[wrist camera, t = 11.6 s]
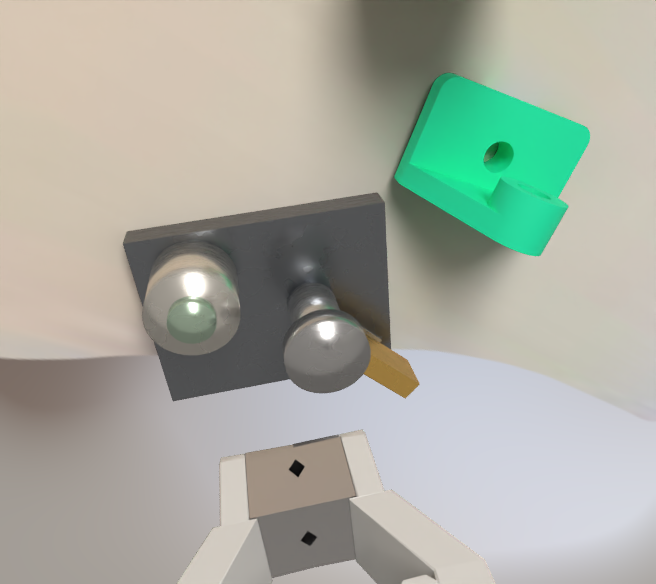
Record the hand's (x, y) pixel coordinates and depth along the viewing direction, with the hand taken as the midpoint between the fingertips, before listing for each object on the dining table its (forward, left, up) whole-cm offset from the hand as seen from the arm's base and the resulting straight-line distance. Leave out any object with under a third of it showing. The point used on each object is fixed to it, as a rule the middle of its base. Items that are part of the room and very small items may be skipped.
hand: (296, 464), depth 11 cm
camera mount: (-17, +4, -30) cm, 34 cm away
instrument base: (0, +13, -29) cm, 32 cm away
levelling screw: (-5, +15, -27) cm, 31 cm away
